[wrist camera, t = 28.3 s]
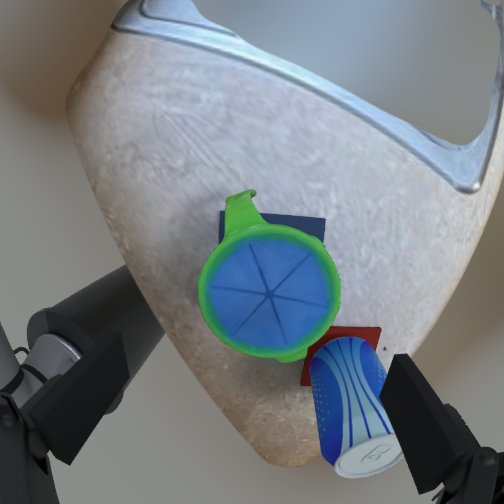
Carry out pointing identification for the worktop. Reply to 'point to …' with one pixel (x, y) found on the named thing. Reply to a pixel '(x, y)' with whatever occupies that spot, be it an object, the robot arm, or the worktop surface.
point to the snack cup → (267, 286)
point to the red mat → (333, 333)
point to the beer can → (352, 408)
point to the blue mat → (287, 224)
